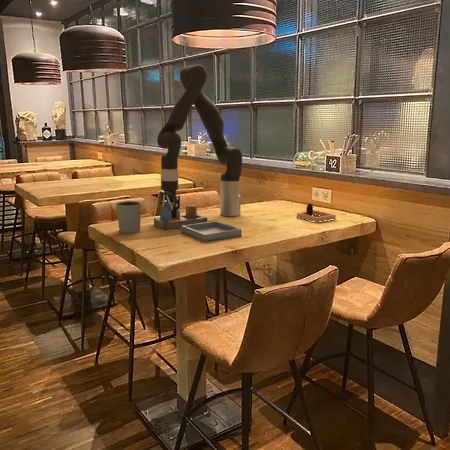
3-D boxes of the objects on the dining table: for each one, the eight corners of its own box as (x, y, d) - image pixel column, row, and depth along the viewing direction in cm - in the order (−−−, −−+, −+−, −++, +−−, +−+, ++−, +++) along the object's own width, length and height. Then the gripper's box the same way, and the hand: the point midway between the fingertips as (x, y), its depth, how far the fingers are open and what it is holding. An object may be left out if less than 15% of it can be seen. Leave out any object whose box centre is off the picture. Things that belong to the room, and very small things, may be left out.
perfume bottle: (171, 223, 209) (171, 197, 206) (180, 226, 205) (179, 199, 202) (160, 225, 205) (159, 199, 202) (168, 228, 200) (168, 201, 198)
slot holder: (194, 219, 218) (194, 212, 217) (207, 223, 210) (207, 216, 209) (153, 225, 206) (153, 217, 205) (165, 229, 197) (165, 222, 197)
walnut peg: (193, 221, 214) (193, 204, 212) (198, 223, 210) (198, 206, 209) (183, 222, 211) (183, 205, 210) (189, 224, 207) (189, 207, 206)
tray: (216, 227, 203) (216, 220, 203) (241, 236, 189) (241, 228, 189) (181, 232, 193) (181, 225, 193) (204, 242, 179) (204, 234, 178)
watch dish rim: (315, 215, 233) (315, 210, 232) (335, 219, 222) (335, 214, 222) (296, 218, 225) (297, 213, 225) (316, 223, 215) (316, 217, 214)
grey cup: (141, 233, 191) (140, 205, 188) (116, 234, 189) (115, 205, 186) (141, 228, 200) (140, 200, 198) (117, 228, 199) (116, 201, 196)
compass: (320, 221, 220) (321, 206, 218) (305, 218, 224) (305, 204, 223) (326, 218, 226) (327, 203, 225) (311, 216, 231) (312, 201, 229)
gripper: (185, 180, 196) (185, 218, 200) (169, 176, 208) (169, 213, 211) (170, 181, 192) (170, 220, 196) (154, 177, 203) (154, 214, 207)
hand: (170, 216), depth 204 cm, fingers closed on perfume bottle, 6 cm apart
